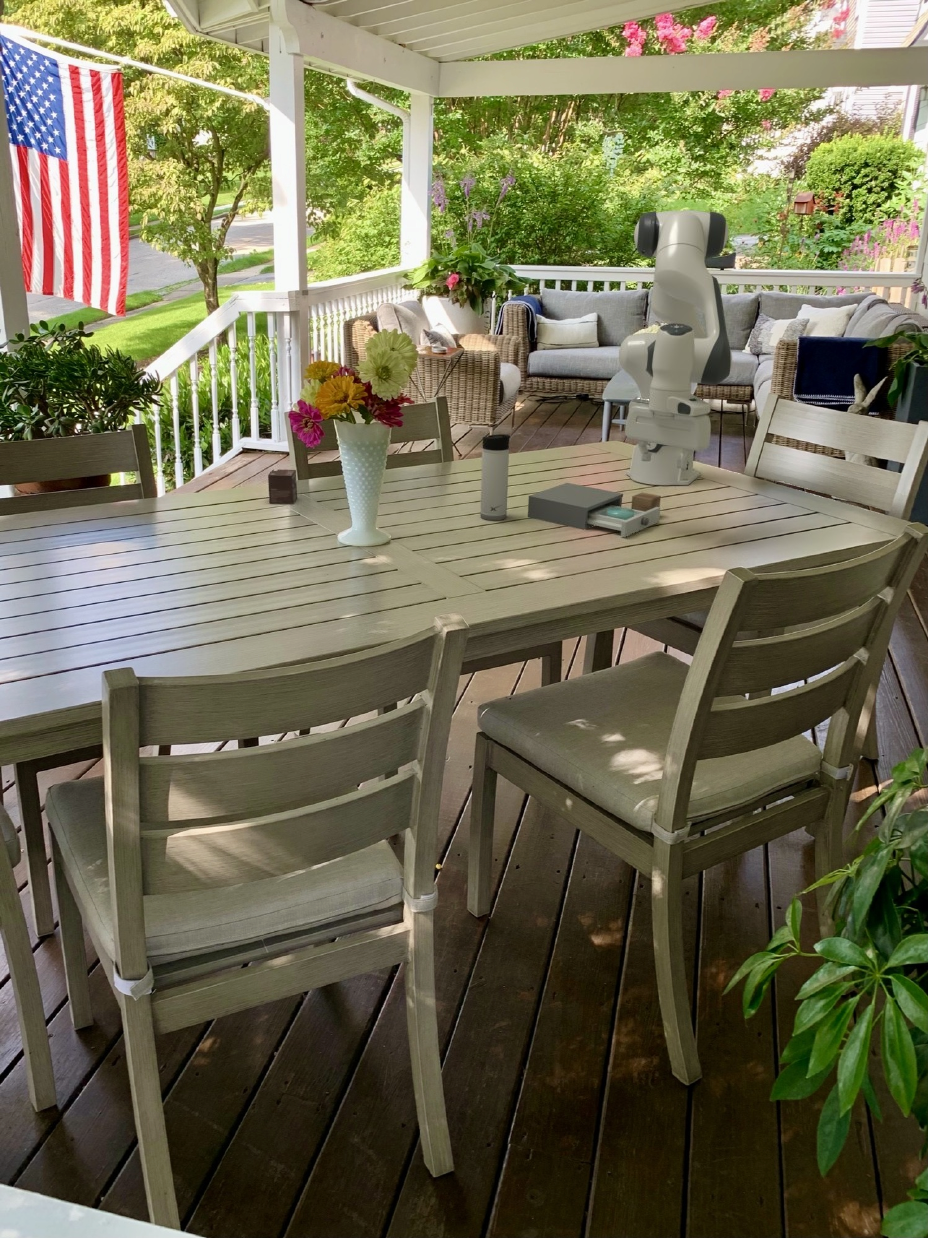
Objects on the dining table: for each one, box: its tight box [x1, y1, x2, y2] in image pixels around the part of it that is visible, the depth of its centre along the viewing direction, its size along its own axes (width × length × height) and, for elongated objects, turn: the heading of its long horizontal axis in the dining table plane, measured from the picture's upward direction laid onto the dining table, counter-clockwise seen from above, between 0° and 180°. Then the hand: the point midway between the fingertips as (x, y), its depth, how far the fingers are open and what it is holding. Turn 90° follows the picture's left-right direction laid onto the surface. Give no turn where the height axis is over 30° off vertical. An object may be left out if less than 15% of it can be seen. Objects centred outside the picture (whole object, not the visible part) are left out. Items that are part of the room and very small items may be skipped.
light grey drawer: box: [587, 505, 661, 538], centre depth 238 cm, size 17×17×4 cm
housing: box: [527, 482, 624, 530], centre depth 244 cm, size 17×16×5 cm
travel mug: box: [479, 433, 511, 521], centre depth 239 cm, size 6×7×20 cm
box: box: [267, 469, 298, 505], centre depth 251 cm, size 6×6×7 cm
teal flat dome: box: [606, 506, 634, 520], centre depth 237 cm, size 6×6×2 cm
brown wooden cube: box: [630, 492, 662, 512], centre depth 245 cm, size 5×5×5 cm
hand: (663, 464), depth 227 cm, fingers open, 8 cm apart
